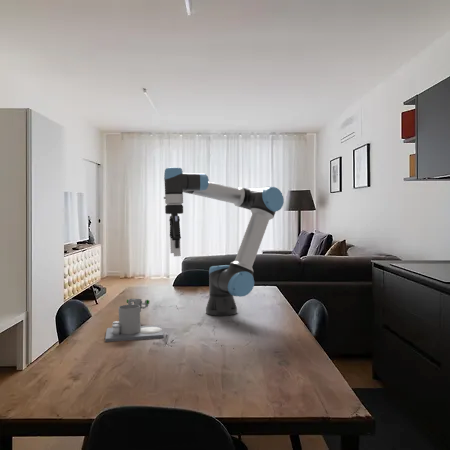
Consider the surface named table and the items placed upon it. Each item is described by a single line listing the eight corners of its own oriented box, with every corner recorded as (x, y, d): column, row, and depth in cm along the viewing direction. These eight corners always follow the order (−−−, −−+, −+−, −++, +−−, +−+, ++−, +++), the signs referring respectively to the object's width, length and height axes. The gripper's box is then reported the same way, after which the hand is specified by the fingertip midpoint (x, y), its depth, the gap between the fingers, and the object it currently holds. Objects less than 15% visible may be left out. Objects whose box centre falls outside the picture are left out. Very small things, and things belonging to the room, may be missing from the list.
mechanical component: (147, 322, 195) (147, 300, 195) (126, 321, 197) (126, 299, 197) (150, 321, 198) (150, 299, 198) (129, 320, 200) (128, 298, 200)
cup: (121, 329, 180) (120, 304, 180) (141, 328, 181) (140, 304, 181) (117, 334, 172) (117, 309, 172) (139, 333, 173) (138, 308, 172)
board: (160, 327, 187) (160, 316, 187) (163, 337, 171) (163, 325, 171) (107, 330, 182) (106, 319, 182) (105, 341, 167) (105, 329, 167)
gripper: (162, 205, 197) (164, 252, 198) (167, 204, 173) (169, 258, 173) (179, 204, 199) (180, 251, 199) (186, 203, 174) (188, 257, 175)
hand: (175, 254), depth 186 cm, fingers open, 13 cm apart
